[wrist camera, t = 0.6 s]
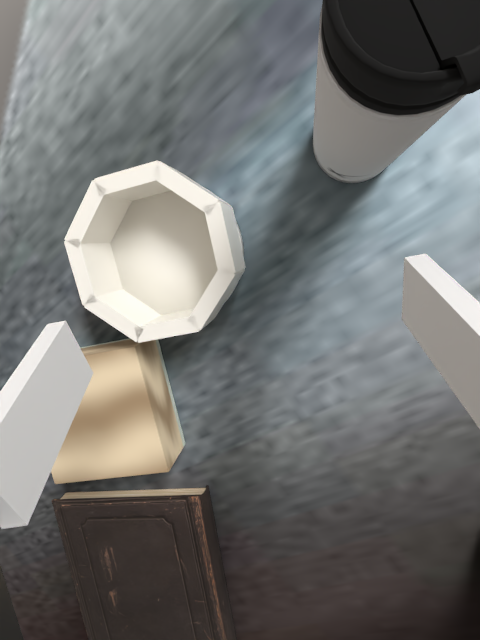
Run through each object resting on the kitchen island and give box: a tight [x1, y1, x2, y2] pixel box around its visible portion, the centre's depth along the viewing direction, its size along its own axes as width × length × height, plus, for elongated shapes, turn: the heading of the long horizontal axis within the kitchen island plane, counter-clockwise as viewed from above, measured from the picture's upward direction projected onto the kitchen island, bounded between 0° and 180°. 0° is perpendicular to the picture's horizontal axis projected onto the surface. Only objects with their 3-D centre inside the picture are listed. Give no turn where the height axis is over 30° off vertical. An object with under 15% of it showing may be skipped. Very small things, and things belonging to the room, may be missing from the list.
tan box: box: [51, 339, 183, 484], centre depth 34 cm, size 11×11×4 cm
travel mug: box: [313, 0, 480, 183], centre depth 19 cm, size 6×7×20 cm
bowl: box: [64, 161, 246, 343], centre depth 30 cm, size 12×12×6 cm
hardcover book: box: [52, 485, 237, 640], centre depth 40 cm, size 16×23×2 cm
